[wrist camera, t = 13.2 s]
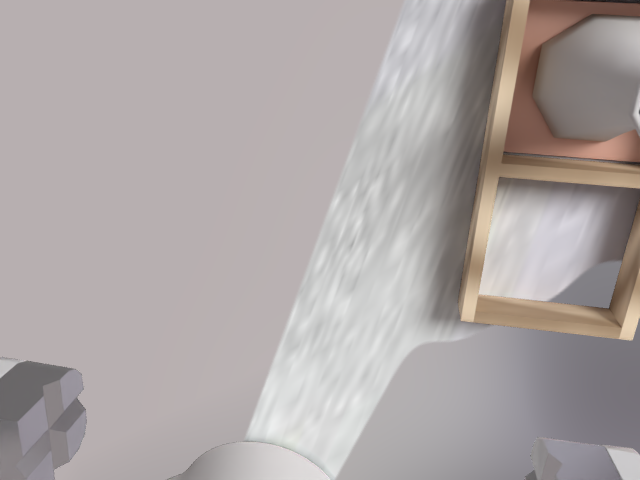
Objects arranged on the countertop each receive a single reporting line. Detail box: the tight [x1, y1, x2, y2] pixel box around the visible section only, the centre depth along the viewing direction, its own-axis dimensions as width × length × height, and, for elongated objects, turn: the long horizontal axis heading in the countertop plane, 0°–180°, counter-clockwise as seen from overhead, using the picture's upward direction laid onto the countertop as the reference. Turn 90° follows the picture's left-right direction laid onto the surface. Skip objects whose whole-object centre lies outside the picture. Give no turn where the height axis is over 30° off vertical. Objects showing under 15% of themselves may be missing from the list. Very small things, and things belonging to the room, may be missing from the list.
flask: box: [532, 14, 640, 142], centre depth 27 cm, size 7×7×10 cm
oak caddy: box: [458, 0, 640, 340], centre depth 33 cm, size 20×11×2 cm, turn 177°
